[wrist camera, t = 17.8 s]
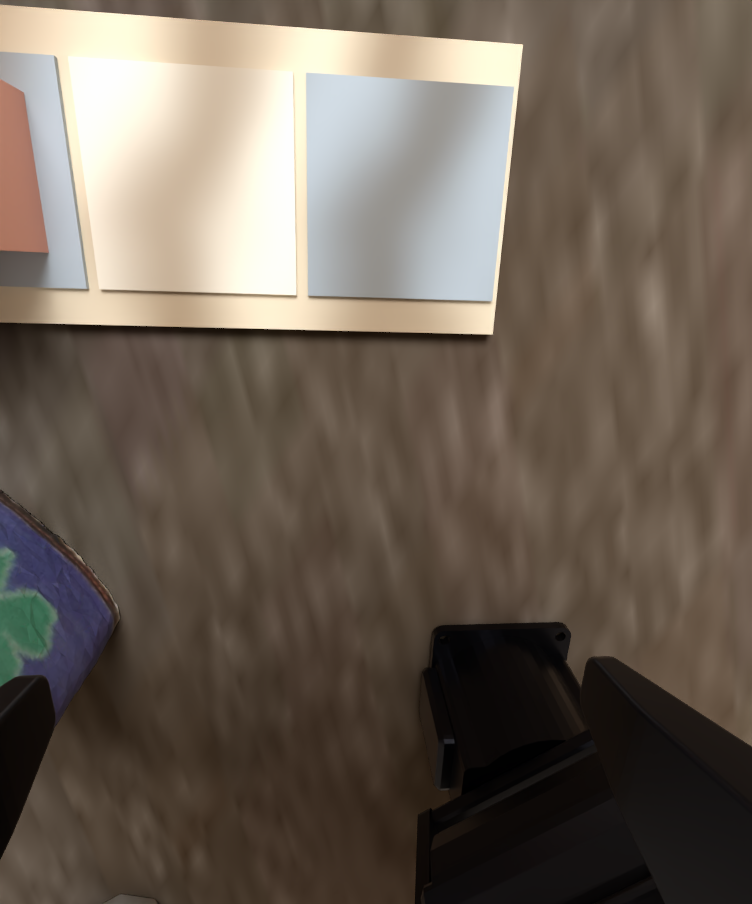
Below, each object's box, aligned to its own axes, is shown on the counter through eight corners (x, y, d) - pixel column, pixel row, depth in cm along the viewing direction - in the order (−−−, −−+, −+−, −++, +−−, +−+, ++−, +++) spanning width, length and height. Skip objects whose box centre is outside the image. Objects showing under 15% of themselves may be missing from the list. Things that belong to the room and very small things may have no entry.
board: (516, 52, 17) (525, 41, 16) (487, 332, 20) (494, 335, 19) (-186, -1, 15) (-213, -15, 14) (-104, 318, 18) (-122, 320, 17)
